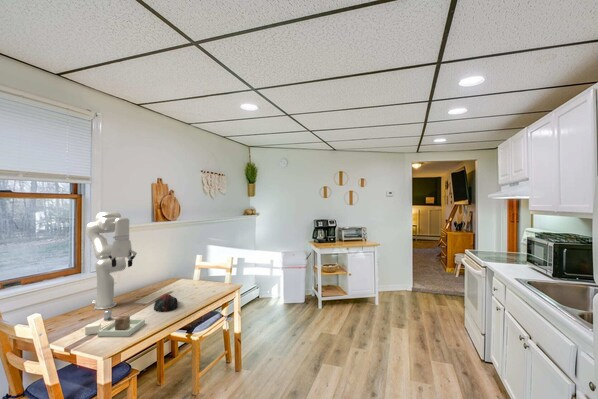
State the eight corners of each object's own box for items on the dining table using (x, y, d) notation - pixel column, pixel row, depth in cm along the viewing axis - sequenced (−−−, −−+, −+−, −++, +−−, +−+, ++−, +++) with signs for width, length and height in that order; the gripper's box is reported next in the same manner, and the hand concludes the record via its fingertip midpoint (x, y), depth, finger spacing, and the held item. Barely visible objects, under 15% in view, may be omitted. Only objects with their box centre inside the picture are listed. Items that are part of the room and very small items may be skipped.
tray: (97, 336, 152) (97, 331, 152) (117, 323, 168) (117, 319, 168) (128, 336, 152) (128, 331, 152) (145, 323, 168) (145, 319, 168)
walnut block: (115, 330, 158) (115, 319, 158) (120, 326, 163) (120, 315, 163) (124, 330, 158) (124, 319, 158) (129, 326, 163) (129, 315, 163)
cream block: (85, 335, 155) (85, 327, 155) (87, 331, 158) (87, 324, 158) (98, 333, 157) (98, 325, 157) (100, 330, 160) (100, 322, 160)
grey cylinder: (102, 320, 173) (102, 312, 174) (106, 318, 177) (106, 309, 178) (108, 320, 173) (108, 312, 174) (113, 318, 177) (113, 309, 178)
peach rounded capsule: (118, 322, 170) (118, 317, 170) (123, 319, 175) (123, 314, 175) (126, 322, 170) (126, 317, 170) (130, 319, 175) (130, 314, 175)
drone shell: (168, 313, 185) (168, 300, 185) (142, 310, 190) (142, 298, 190) (189, 302, 205) (189, 291, 205) (165, 300, 211) (165, 289, 211)
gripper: (103, 239, 177) (103, 267, 176) (132, 239, 176) (132, 267, 176) (112, 237, 184) (111, 265, 184) (139, 237, 184) (139, 265, 184)
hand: (122, 266), depth 180 cm, fingers open, 9 cm apart
